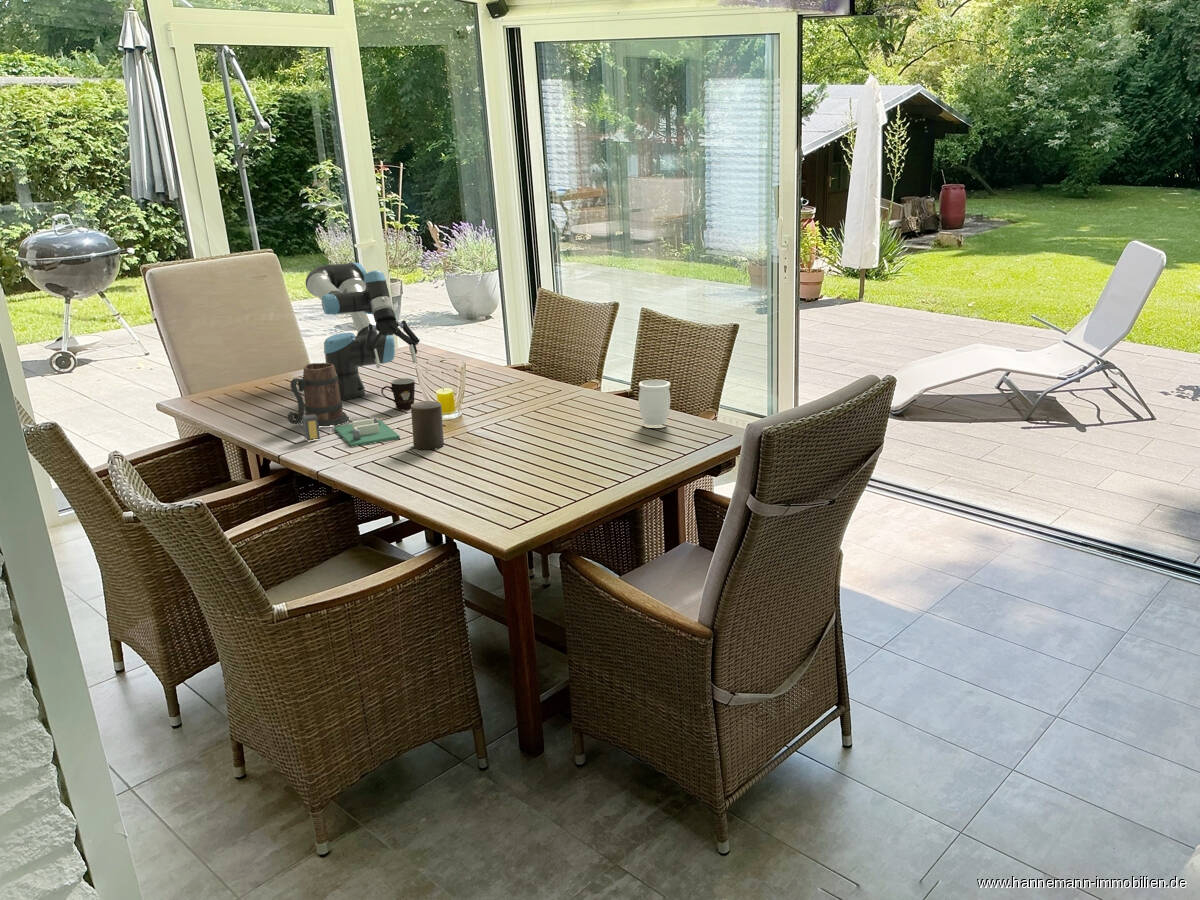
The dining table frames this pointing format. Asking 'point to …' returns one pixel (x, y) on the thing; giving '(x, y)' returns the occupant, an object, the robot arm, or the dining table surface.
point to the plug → (311, 427)
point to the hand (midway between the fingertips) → (397, 364)
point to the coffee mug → (402, 392)
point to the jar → (654, 401)
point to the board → (366, 432)
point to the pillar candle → (427, 425)
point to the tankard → (319, 395)
